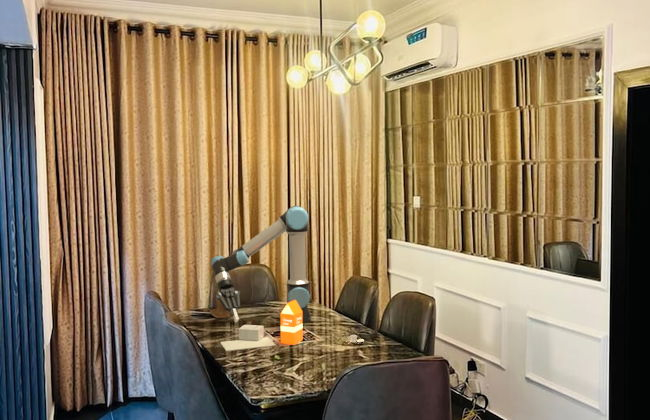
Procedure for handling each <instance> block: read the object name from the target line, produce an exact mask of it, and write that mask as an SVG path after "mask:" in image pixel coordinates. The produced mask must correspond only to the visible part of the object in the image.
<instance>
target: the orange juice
mask: <svg viewBox="0 0 650 420" xmlns="http://www.w3.org/2000/svg"><path fill="white" fill-rule="evenodd" d="M303 323H304V322H303ZM303 323H302V310H301V308H300V307H299V305H298V303H297V302H296V300H293V301H291V302H288V303H287V302H286V304H285V306H284V307H283V309H282V311H281V312H280V344H285V345H293V346H294V345H297V344H298V343H300V342H302V341H303V340H304V339H303V336H304V335H303V331H304V330H303Z"/></svg>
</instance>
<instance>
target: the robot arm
mask: <svg viewBox="0 0 650 420" xmlns="http://www.w3.org/2000/svg"><path fill="white" fill-rule="evenodd" d="M308 214H309V213H308V212H307V210H305V208H303V207H302V206H300V205H299V206H298V205H293V206H291V207H289V208H288V209H287V210H286V211H285V212H284V213H283V214H281V215H280V216H278V220H276V221H274V222H273V223H272V224H271V225H270V226H268V227H266V228H265V229H264V230H262V231H261V232H260V233H258V234H256V235H255V236H254V237H252V238H251V239H250V240H248V241H247V242H245V243H244V244H242V245H241V246H240V247H239V248H237V249H234V250H233V251H232V252H231V254H230V255H228V256H225V257H224V256H222V255H218V256H217V255H216V256H215V257H212V258H211V261H210V266H211V270H212V272H213V275H214V279H215V282H216V284H217V288H218V291H219V293H216V295H215V297H216V298H217V299H219V301H220V302H221V304H222V306H223V307H224V309H225V310H226V311H227V310H228V311H229V313H230V315H231V316H230V317H232V318H233V321H234V323H238V322H239V320H240V318H239V309H240V308H241V299H240V295H241V291H240V290H236V289H235V287H234V284H233V281H232V278H231V275H230V273H229V272H230V271H233V270H235V269H237V268H240V267H242V266H245V265H246V264H248V263H249V259H250V257H252V256H253V255H254V254H256V253H257V252H259V251H260V250H262V249H263V248H264V247H266V246H267V245H268V244H270V243H271V242H273V241H274V240H276V239H277V238H278V237H280V236H281V235H283V234H284V233H287V234H288V235H289V236H288V237H289V239H288V240H289V241H288V243H289V248H288V249H289V279H288V280H287V281H286V304H287V303H288V302H291V301H293V300H296V302H297V303H298V305H299V307H300V308H301V310H302V323H307V322H310V321H311V319H312V317H311V316H312V315H311V312H310V309H309V306H308V305H309V303H310V299H311V295H310V281H309V280H308V279H307V263H306V261H307V259H306V258H307V257H306V252H307V251H306V234H307V233H308V232H309V225H308V224H309V219H310V218H309V215H308ZM222 296H223V297H224V298H225V300H224V299H223V297H222ZM216 298H215V299H216ZM230 300H231V302H230ZM225 301H226V302H225ZM226 303H227V304H226Z"/></svg>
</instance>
